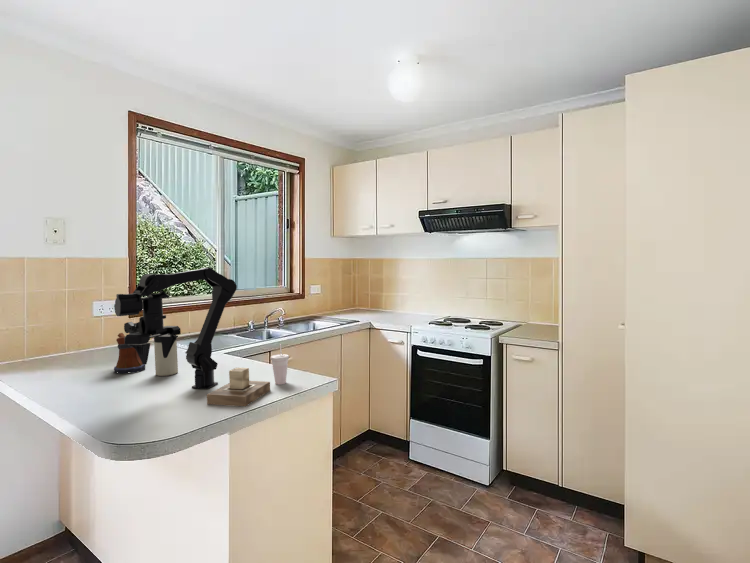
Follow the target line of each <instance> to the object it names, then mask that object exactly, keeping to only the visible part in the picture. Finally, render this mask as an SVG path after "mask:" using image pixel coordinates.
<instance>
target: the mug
mask: <svg viewBox="0 0 750 563" xmlns="http://www.w3.org/2000/svg"><path fill="white" fill-rule="evenodd" d="M125 336H126V334H124V333H123V332H120V333H118V335H117V338H116V343H117V348H118V358H117V361H116V365H115V366H114V367H113V371H114V373H116V372H118V373H128V372H135V373H138V372H137V371H139V372H142V371H144V370H146V365H143V364H142V361H141V359H140V357H139V355H138V353H137V351H136V350H135V348H133V347H132V346H129V345H128V344H125V340H124V337H125ZM141 370H142V371H141ZM118 373H117V374H118ZM128 374H129V373H128Z"/></svg>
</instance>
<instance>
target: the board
mask: <svg viewBox="0 0 750 563" xmlns="http://www.w3.org/2000/svg"><path fill="white" fill-rule="evenodd" d="M249 385H250V386H249V387H248V388H247V389H245V390H230V382H229V383H227V384H225V385H223V386H220V387H218V388H217V389H215V390H213V391H211V392H209V393H207V394H206V404H207V405H216V406H218V405H219V406H231V407H233V406H234V407H248V406H249V405H251V404H252V403H253V402H254V401H256V400H258V399H259V398H261V397H262V396H264V395H266V394H267V393H269V392H270V391H271V381H265V380H264V381H263V380H249ZM251 402H252V403H251ZM248 404H249V405H248Z"/></svg>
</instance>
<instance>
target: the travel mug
mask: <svg viewBox="0 0 750 563" xmlns="http://www.w3.org/2000/svg"><path fill="white" fill-rule="evenodd" d="M158 337H159V336H158ZM158 337H154V338H153V344H154V345H153V347H154V366H155V367H154V368H155V375H156V376H158V377H168V376H172V375H176V374H177V373H179V368H178V367H179V365H178V364H179V363H178V362H179V361H178V341H177V340H178V339H177V338H178V337H177V338H176V340H175V342H174V344H173V346H172V348H171V350H170V352H169V354H168V357H167V358H164V357H163V351H162V342H161V340H160V339H159V338H158Z"/></svg>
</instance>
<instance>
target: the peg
mask: <svg viewBox="0 0 750 563" xmlns="http://www.w3.org/2000/svg"><path fill="white" fill-rule="evenodd" d="M228 373H229V374H228V376H229V383H230V390H245V389H247V388H248V387H249V386H250V385H249V381H250V368H249V367H235V368H233V369H231V370H228Z"/></svg>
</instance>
